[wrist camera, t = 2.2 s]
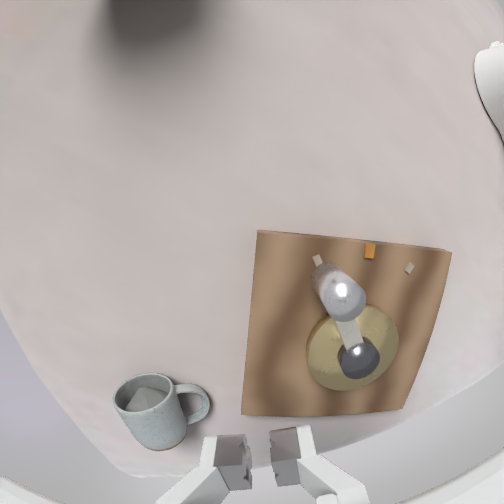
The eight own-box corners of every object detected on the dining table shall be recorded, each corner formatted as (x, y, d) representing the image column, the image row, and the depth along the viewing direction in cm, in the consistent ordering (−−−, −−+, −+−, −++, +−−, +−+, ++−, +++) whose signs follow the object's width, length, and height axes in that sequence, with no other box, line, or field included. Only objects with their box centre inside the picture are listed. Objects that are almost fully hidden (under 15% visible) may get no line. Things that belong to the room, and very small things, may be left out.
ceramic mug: (146, 417, 35) (131, 455, 27) (124, 373, 33) (102, 409, 25) (217, 415, 34) (212, 457, 27) (201, 368, 33) (191, 410, 25)
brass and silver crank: (363, 237, 27) (400, 255, 19) (399, 356, 30) (428, 394, 22) (268, 281, 28) (274, 315, 20) (322, 393, 31) (336, 439, 23)
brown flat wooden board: (442, 249, 29) (453, 253, 27) (397, 400, 34) (402, 409, 32) (257, 229, 29) (257, 233, 27) (241, 404, 34) (241, 416, 31)
